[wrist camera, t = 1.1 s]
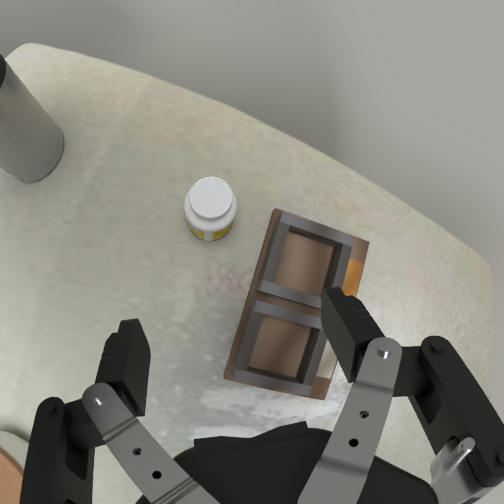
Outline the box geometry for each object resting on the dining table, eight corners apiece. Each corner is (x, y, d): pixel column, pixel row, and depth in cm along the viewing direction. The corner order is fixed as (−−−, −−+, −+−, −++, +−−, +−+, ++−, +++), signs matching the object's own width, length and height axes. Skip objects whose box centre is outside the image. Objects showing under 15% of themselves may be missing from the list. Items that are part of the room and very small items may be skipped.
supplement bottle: (234, 200, 39) (244, 173, 29) (229, 244, 38) (237, 230, 29) (190, 194, 38) (186, 165, 29) (184, 238, 38) (177, 222, 28)
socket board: (223, 375, 37) (225, 386, 32) (273, 210, 40) (280, 201, 35) (321, 397, 38) (332, 407, 34) (365, 243, 41) (380, 238, 37)
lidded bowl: (44, 425, 32) (7, 457, 21) (68, 494, 31) (43, 534, 20) (-17, 413, 30) (-57, 435, 19) (6, 479, 29) (-24, 510, 18)
